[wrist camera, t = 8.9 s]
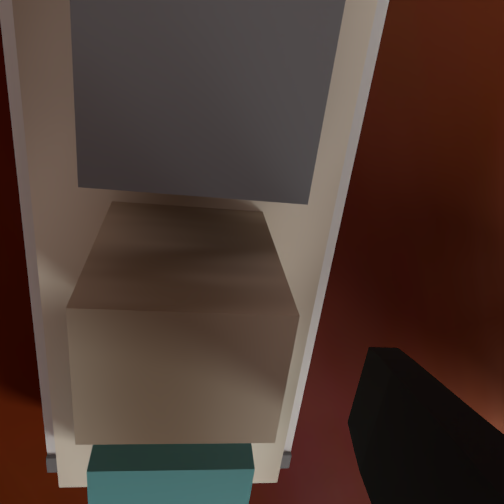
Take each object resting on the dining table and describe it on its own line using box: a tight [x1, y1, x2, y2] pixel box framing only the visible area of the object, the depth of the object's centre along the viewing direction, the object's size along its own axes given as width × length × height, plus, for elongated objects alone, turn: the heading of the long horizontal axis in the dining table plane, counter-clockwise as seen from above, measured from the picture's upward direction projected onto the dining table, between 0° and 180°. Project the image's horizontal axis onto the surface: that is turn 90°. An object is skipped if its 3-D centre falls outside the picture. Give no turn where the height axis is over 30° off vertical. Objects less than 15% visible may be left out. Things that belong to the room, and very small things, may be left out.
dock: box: [0, 0, 389, 472], centre depth 16 cm, size 10×22×3 cm, turn 173°
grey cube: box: [70, 0, 346, 205], centre depth 9 cm, size 4×4×4 cm
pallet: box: [12, 0, 378, 487], centre depth 12 cm, size 8×19×7 cm, turn 173°
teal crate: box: [87, 443, 255, 504], centre depth 14 cm, size 4×4×4 cm
